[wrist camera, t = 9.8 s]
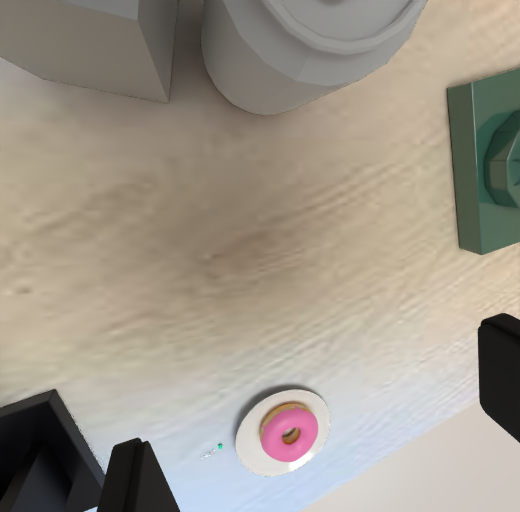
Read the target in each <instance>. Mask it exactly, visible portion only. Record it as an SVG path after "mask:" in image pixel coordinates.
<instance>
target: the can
mask: <svg viewBox="0 0 520 512" xmlns="http://www.w3.org/2000/svg"><path fill="white" fill-rule="evenodd" d="M427 1H428V0H204V7H203V16H202V29H201V50H202V54H203V58H204V63H205V67H206V70H207V72H208V74H209V75H210V77H211V79H212V81H213V83H214V85H215V86H216V88H217V89H218V90H219V91H220V92H221V93H222V94H223V95H224V96H225V97H226V98H227V99H228V100H229V101H230V102H231V103H232V104H233V105H235V106H237V107H239V108H241V109H243V110H245V111H247V112H249V113H253V114H260V115H267V116H270V115H275V114H279V113H284V112H288V111H290V110H293V109H295V108H297V107H299V106H302V105H304V104H306V103H308V102H311V101H313V100H315V99H317V98H320V97H322V96H324V95H326V94H329V93H331V92H333V91H336V90H338V89H340V88H342V87H345V86H347V85H349V84H351V83H354V82H356V81H358V80H360V79H362V78H363V77H365V76H367V75H368V74H370V73H372V72H373V71H375V70H377V69H378V68H380V67H381V66H383V65H385V64H386V63H387V62H388V61H389V60H390V59H391V58H392V57H393V55H394V54H395V53H396V52H397V51H398V50H399V49H400V47H401V46H402V45H403V44H404V43H405V42H406V40H407V39H408V38H409V37H410V35H411V33H412V31H413V28H414V26H415V24H416V22H417V20H418V18H419V16H420V14H421V12H422V10H423V9H424V7H425V5H426V3H427Z"/></svg>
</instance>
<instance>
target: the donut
mask: <svg viewBox="0 0 520 512" xmlns="http://www.w3.org/2000/svg"><path fill="white" fill-rule="evenodd" d="M330 423H331V420H330V412H329V410H328V407H327V405H326V404H325V402H324V401H323V400H322V399H321V398H320V397H319V396H318V395H316V394H314V393H312V392H309V391H305V390H296V389H292V390H286V391H282V392H278V393H275V394H273V395H271V396H269V397H267V398H265V399H264V400H262V401H261V402H259V403H258V404H257V405H256V406H255V407H254V408H252V409H251V410H250V411H249V412H248V414H247V415H246V417H245V418H244V419H243V421H242V423H241V425H240V427H239V429H238V432H237V436H236V442H235V448H236V453H237V457H238V459H239V461H240V462H241V464H242V465H243V466H244V467H245V468H246V469H248V470H249V471H251V472H252V473H255V474H258V475H262V476H279V475H283V474H287V473H289V472H292V471H295V470H296V469H298V468H300V467H302V466H303V465H305V464H306V463H307V462H309V461H310V460H311V459H312V458H313V457H314V456H315V455H316V454H317V453H318V452H319V450H320V449H321V448H322V446H323V445H324V443H325V441H326V439H327V436H328V433H329V430H330ZM218 448H219V449H222V445H221V444H220V445H219V446H218ZM209 453H210V452H209ZM213 453H214V450H213ZM210 456H211V453H210ZM207 457H208V454H207ZM204 458H205V455H204ZM201 461H202V457H201Z"/></svg>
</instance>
